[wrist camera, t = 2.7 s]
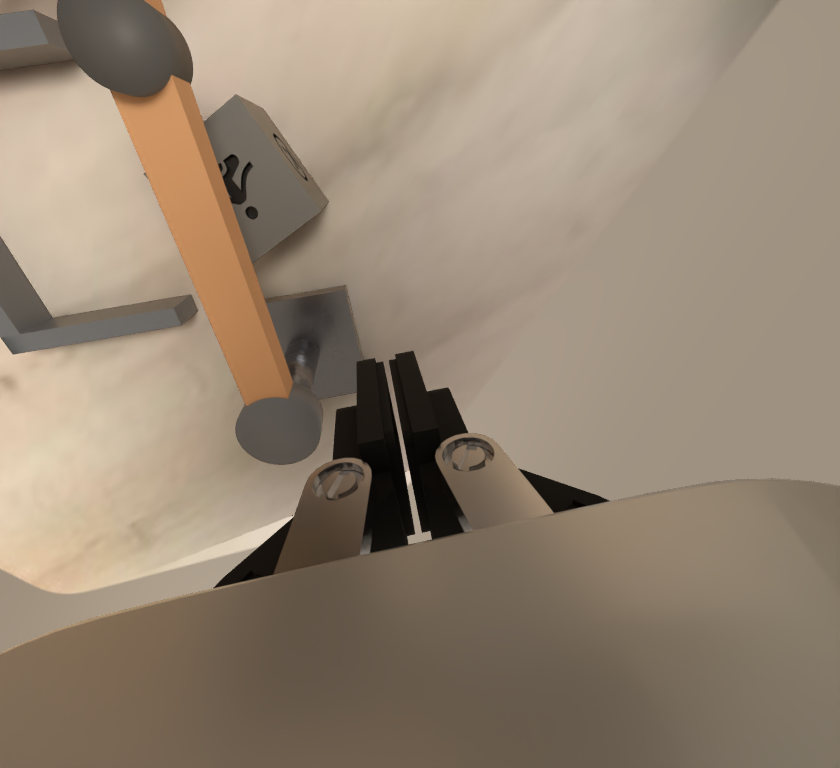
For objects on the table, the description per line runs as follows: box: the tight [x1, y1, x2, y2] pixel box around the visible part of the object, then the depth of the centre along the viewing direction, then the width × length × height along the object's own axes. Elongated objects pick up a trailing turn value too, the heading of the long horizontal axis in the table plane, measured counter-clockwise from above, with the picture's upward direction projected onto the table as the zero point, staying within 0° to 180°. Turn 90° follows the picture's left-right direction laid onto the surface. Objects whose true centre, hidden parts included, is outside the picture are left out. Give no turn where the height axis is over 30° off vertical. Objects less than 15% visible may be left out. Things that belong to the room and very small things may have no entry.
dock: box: [0, 10, 198, 354], centre depth 19 cm, size 9×13×2 cm
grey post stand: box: [265, 285, 363, 399], centre depth 22 cm, size 7×7×8 cm
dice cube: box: [144, 95, 329, 263], centre depth 19 cm, size 5×5×5 cm
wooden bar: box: [57, 0, 323, 465], centre depth 15 cm, size 17×4×2 cm, turn 8°
